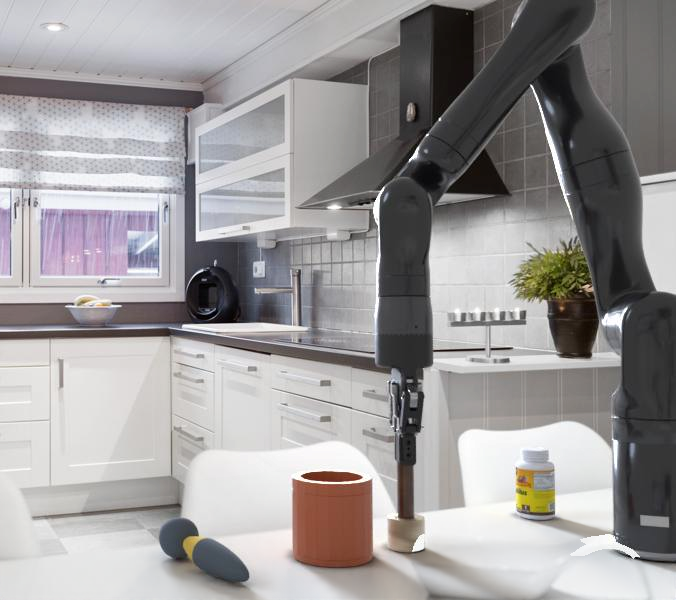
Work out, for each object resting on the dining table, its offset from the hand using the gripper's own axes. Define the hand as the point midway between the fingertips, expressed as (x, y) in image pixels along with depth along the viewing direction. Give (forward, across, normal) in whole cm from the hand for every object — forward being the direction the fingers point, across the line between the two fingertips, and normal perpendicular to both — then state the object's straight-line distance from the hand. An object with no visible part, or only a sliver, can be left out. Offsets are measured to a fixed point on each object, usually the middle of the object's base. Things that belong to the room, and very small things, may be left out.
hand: (405, 462), depth 109 cm
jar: (+11, -4, +10) cm, 15 cm away
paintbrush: (+11, -9, +26) cm, 30 cm away
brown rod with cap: (+11, 0, 0) cm, 11 cm away
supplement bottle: (+11, +18, -23) cm, 31 cm away
